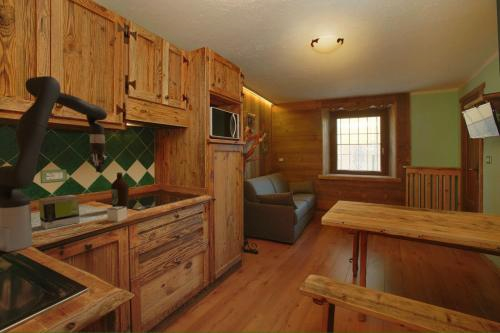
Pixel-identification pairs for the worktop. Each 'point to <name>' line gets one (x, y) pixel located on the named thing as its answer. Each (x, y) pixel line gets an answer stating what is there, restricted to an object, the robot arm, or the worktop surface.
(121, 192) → the olive oil
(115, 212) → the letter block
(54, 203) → the tea box
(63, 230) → the worktop surface
